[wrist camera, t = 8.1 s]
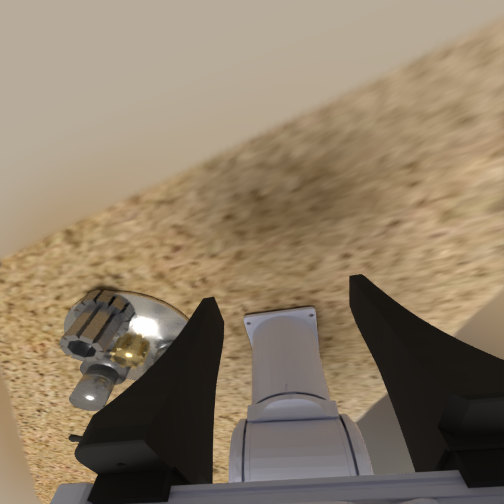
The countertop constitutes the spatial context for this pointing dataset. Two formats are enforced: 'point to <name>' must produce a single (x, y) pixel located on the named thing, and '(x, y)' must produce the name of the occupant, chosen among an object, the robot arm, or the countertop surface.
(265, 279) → the countertop surface
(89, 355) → the planet gear
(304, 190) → the countertop surface
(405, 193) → the countertop surface
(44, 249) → the countertop surface
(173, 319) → the carrier
